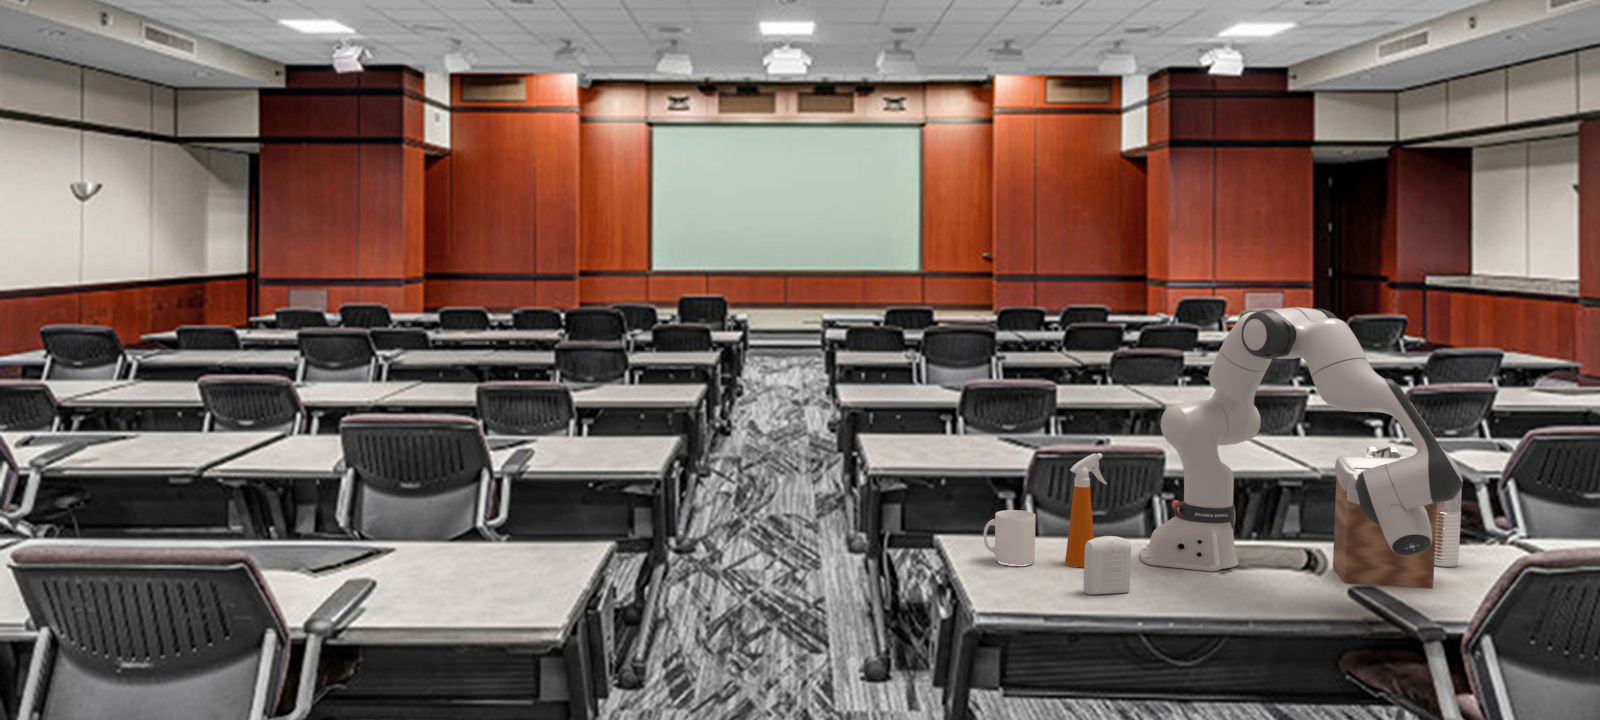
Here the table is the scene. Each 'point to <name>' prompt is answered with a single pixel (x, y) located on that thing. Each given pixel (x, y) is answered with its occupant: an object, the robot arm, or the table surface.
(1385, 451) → the grooved metal rail
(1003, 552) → the mug
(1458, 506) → the water bottle
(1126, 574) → the photo printer
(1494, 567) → the table surface
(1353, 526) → the stand
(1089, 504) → the spray bottle
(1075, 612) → the table surface
